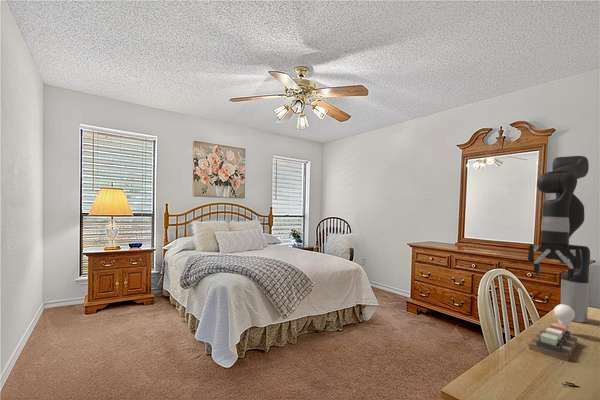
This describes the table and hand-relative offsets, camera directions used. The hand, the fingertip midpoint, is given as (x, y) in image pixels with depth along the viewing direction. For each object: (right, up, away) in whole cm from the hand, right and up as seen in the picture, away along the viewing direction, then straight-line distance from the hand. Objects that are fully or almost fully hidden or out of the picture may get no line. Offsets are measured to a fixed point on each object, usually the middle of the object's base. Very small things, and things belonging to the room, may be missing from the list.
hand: (553, 277), depth 105 cm
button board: (+2, -25, +2) cm, 25 cm away
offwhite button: (+2, -22, +2) cm, 22 cm away
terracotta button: (+8, -22, +8) cm, 25 cm away
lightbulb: (+17, -26, +16) cm, 35 cm away
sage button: (-4, -21, -3) cm, 22 cm away
